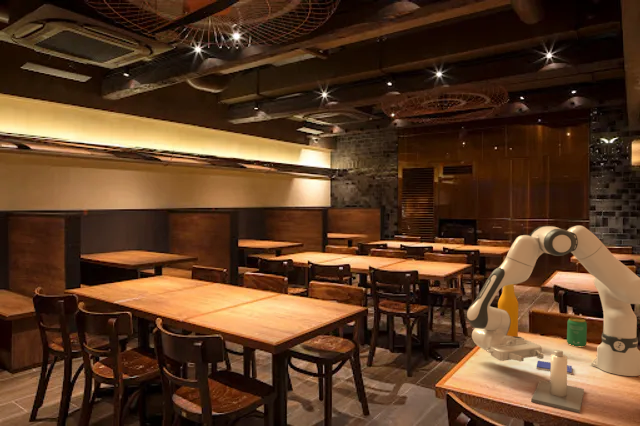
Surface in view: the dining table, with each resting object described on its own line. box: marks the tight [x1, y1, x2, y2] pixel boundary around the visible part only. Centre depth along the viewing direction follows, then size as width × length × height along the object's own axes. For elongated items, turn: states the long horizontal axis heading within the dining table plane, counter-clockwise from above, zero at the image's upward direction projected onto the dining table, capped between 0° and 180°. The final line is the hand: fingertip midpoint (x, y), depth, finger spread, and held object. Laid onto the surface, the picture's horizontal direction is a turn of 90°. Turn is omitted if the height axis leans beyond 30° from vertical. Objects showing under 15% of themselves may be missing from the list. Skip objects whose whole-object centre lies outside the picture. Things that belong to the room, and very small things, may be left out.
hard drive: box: [536, 360, 573, 375], centre depth 184 cm, size 2×8×12 cm
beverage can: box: [566, 317, 588, 347], centre depth 215 cm, size 8×8×12 cm
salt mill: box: [549, 349, 568, 397], centre depth 156 cm, size 5×5×15 cm
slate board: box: [531, 379, 585, 414], centre depth 156 cm, size 20×14×1 cm
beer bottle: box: [497, 284, 520, 337], centre depth 220 cm, size 9×9×29 cm
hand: (532, 358), depth 167 cm, fingers open, 8 cm apart
